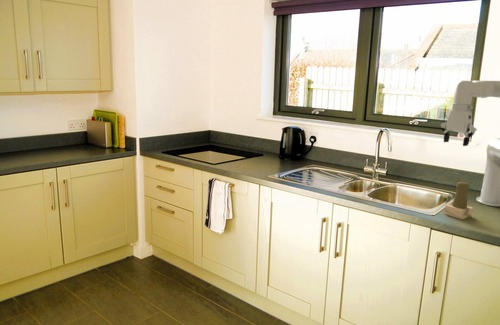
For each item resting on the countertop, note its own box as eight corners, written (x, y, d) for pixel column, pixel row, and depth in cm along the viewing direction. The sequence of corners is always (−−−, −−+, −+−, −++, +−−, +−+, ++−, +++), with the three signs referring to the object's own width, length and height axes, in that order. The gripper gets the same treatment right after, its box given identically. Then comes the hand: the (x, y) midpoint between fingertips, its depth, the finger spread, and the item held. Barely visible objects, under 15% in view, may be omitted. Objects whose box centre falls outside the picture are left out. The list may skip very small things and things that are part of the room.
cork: (462, 204, 189) (466, 180, 186) (469, 208, 183) (474, 184, 180) (449, 203, 189) (453, 180, 186) (456, 208, 183) (460, 184, 180)
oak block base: (454, 210, 192) (455, 202, 191) (471, 216, 185) (473, 207, 185) (444, 213, 188) (445, 205, 187) (461, 219, 181) (462, 210, 180)
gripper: (484, 109, 191) (477, 146, 195) (448, 105, 205) (443, 140, 209) (475, 109, 187) (468, 147, 191) (439, 105, 201) (434, 141, 205)
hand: (455, 143), depth 200 cm, fingers open, 9 cm apart
